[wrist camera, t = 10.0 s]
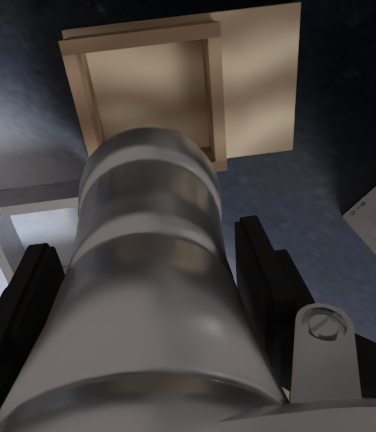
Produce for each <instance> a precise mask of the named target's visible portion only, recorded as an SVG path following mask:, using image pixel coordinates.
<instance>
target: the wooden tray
mask: <svg viewBox="0 0 376 432" xmlns="http://www.w3.org/2000/svg"><path fill="white" fill-rule="evenodd" d="M300 12H301V2H294V3H286V4H277V5H269V6H260V7H252V8H244V9H235V10H227V11H219V12H210V13H202V14H193V15H185V16H177V17H168V18H160V19H152V20H143V21H135V22H126V23H118V24H110V25H101V26H93V27H84V28H76V29H68V30H63V31H62V35H63V40H60V41H58V42H59V46H60V50H61V54H62V58H63V61H64V65H65V69H66V73H67V77H68V80H69V84H70V88H71V92H72V95H73V99H74V103H75V107H76V111H77V114H78V118H79V122H80V126H81V130H82V133H83V137H84V141H85V145H86V148H87V152H88V156H89V157H90V156H91V155H92V154H93V152H94V151H95V150H96V149H97V148H98V147H99V146H100V145H101V144H102V143H103V142H104V141H105V140H106V139H107V138H109V137H110V136H111V135H113V134H114V133H115V132H117V131H120V130H122V129H124V128H126V127H129V126H134V125H138V124H157V125H162V126H167V127H170V128H172V129H175V130H177V131H179V132H181V133H183V134H184V135H186V136H187V137H189V138H190V139H191V140H192V141H193V142H194V143H195V144H196V145H197V146H198V147H199V148H200V149H201V150H202V151H203V152H204V153H205V154H206V156H207V157H208V159H209V160H210V162H211V163H212V165H213V166H214V169H215V171H216V172H218V171H226V170H227V158H232V157H240V156H248V155H256V154H264V153H271V152H279V151H287V150H293V134H294V116H295V99H296V81H297V64H298V47H299V29H300Z"/></svg>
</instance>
